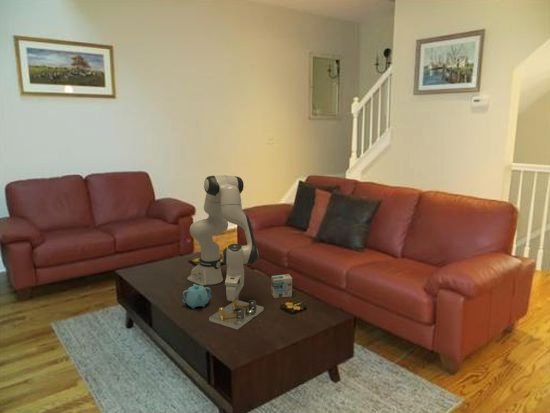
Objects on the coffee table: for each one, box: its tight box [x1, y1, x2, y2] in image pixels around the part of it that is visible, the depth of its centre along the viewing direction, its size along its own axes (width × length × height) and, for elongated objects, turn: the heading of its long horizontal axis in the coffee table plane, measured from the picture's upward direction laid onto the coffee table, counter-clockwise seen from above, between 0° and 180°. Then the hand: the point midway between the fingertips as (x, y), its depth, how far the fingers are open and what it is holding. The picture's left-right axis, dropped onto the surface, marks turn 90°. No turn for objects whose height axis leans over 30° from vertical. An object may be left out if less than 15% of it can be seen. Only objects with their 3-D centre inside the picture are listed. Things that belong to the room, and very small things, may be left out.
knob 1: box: [218, 306, 244, 320], centre depth 204 cm, size 12×4×6 cm, turn 108°
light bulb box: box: [270, 273, 293, 299], centre depth 234 cm, size 11×7×11 cm, turn 105°
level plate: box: [208, 299, 265, 331], centre depth 210 cm, size 18×23×4 cm
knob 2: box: [231, 298, 257, 310], centre depth 213 cm, size 12×4×6 cm, turn 105°
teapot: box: [182, 283, 212, 310], centre depth 222 cm, size 13×14×11 cm
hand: (236, 301), depth 215 cm, fingers closed
